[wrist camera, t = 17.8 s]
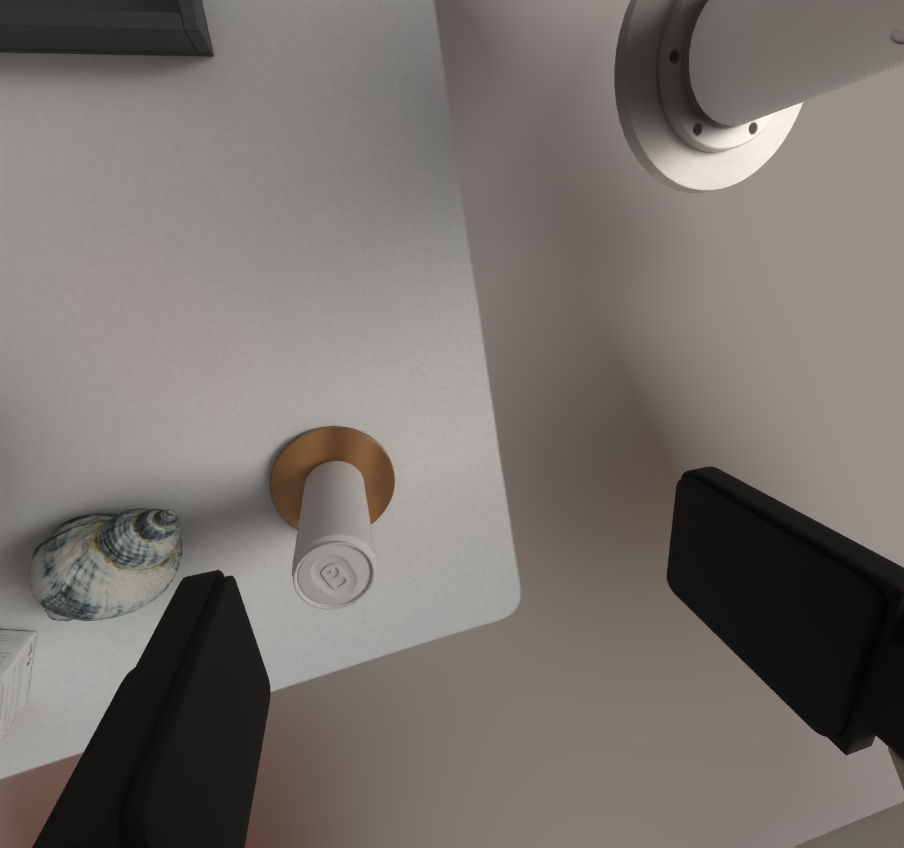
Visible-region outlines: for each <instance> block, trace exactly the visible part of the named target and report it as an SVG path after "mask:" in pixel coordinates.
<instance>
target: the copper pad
mask: <svg viewBox="0 0 904 848" xmlns="http://www.w3.org/2000/svg"><path fill="white" fill-rule="evenodd" d="M330 461H343V462H346V463H349V464H351V465H353V466H354V467H356V468H357V469H358V470H359V471H360V473H361V474H362V477H363V479H364V486H365V493H366V499H367V505H368V511H369V517H370V523H371V524H372V523H373V522H374V521H376V520H377V519H378V518H379V517H380V516H381V515H382V513H383V512H384V511H385V509H386V508H387V506H388V504H389V502H390V500H391V498H392V495H393V491H394V483H395V479H394V471H393V467H392V464H391V461H390V458H389V457H388V455H387V453H386V451H385V450H384V449H383V447H382V446H381V445H380V444H379V443H378V442H377V441H375V440H374V439H373V438H371V437H370V436H368V435H367V434H365V433H363V432H360V431H358V430H355V429H351V428H346V427H336V426H331V427H322V428H318V429H314V430H311V431H308V432H306V433H304V434H302V435H300V436H298V437H297V438H295V439H294V440H293V441H291V442H290V443H289V444H288V445H287V446H286V447H285V448H284V449H283V450H282V452H281V453H280V455H279V456H278V458H277V460H276V462H275V464H274V466H273V470H272V473H271V478H270V492H271V497H272V500H273V503H274V505H275V507H276V509H277V511H278V512H279V513H280V515H281V516H282V517H283V518H284V519H285V520H286V521H287V522H288V523H289V524H290V525H292V526H293V527H295V528H296V529H298V526H299V519H300V513H301V506H302V500H303V493H304V486H305V482H306V479H307V477H308V475H309V474H310V473H311V471H312V470H313V469H315V468H316V467H317V466H319V465H321V464H323V463H325V462H330Z"/></svg>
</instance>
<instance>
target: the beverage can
mask: <svg viewBox="0 0 904 848" xmlns="http://www.w3.org/2000/svg"><path fill="white" fill-rule="evenodd" d="M375 569H376V559H375V552H374V544H373V537H372V530H371V523H370V517H369V511H368V505H367V499H366V493H365V486H364V479H363V477H362V474H361V473H360V471H359V470H358V469H357V468H356V467H354V466H353V465H351V464H349V463H346V462H343V461H330V462H325V463H323V464H321V465H319V466H317V467H316V468H315V469H313V470H312V471H311V473H310V474H309V475H308V477H307V479H306V482H305V486H304V493H303V500H302V506H301V513H300V519H299V526H298V533H297V539H296V546H295V552H294V559H293V567H292V576H293V583H294V587H295V590H296V592H297V594H298V595H299V597H300V598H301V599H302V600H304V601H305V602H306V603H307V604H309V605H311V606H314V607H316V608H321V609H339V608H343V607H347V606H349V605H351V604H353V603H356V602H357V601H358V600H360V599H361V598H362V597H364V595H365V594H366V593H367V592H368V591H369V589H370V588H371V585H372V583H373V581H374V575H375Z"/></svg>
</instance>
